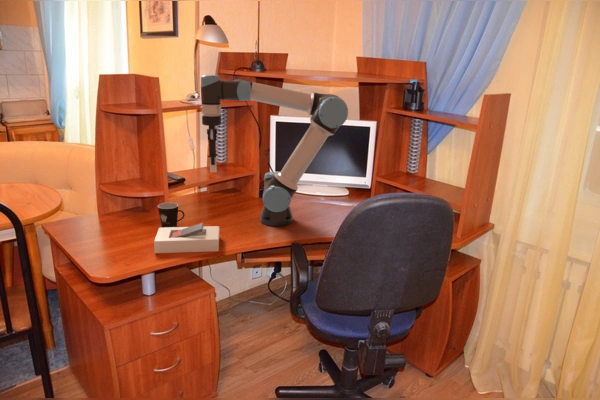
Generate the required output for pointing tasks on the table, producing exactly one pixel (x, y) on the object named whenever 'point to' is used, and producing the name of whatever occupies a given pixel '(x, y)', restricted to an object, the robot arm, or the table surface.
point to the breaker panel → (187, 240)
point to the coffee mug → (169, 214)
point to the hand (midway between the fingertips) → (213, 171)
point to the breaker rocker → (188, 231)
